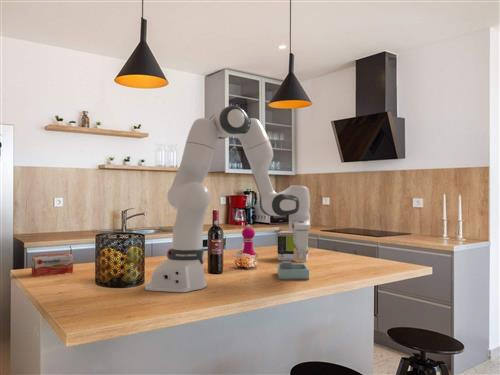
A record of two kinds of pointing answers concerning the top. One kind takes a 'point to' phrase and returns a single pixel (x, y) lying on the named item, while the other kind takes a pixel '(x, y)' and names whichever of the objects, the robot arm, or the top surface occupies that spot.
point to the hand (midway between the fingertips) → (299, 256)
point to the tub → (294, 272)
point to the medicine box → (52, 264)
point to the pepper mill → (248, 240)
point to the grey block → (286, 265)
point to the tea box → (287, 246)
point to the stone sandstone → (298, 257)
